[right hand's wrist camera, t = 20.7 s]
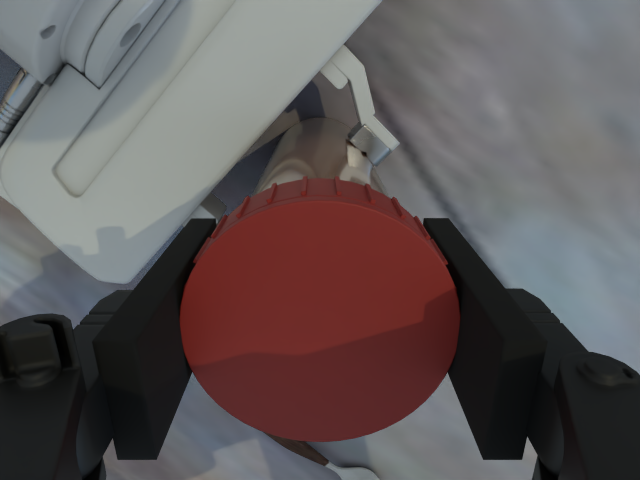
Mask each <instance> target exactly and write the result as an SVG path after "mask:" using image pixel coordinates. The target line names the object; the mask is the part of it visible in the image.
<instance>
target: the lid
mask: <svg viewBox="0 0 640 480" xmlns="http://www.w3.org/2000/svg"><path fill="white" fill-rule="evenodd" d="M211 237H212V238H209V237H208V238H207V240H206V242H205V243H204V245H203V246H202V248H201V250H200V251H199V253H198V254H197V256H196V257H195V259H194V261H193V262H194V263H196V265H195V267H194V268H193V270H192V272H191V273H190V276H189V278H188V280H187V282H186V284H185V286H184V289H183V290H184V292H183V296H182V300H181V305H180V329H181V337H182V344H183V349H184V353H185V356H186V358H187V361H188V363H189V366H190V368H191V370H192V372H193V373H194V375H195V377H196V379H197V381H198V382H199V383H200V385H201V386H202V387H203V389H204V390H205V391H206V392H207V394H208V395H209V396H210V397H211V398H212V399H213V400H214V401H215V402H216V403H217V404H218V405H219V406H221V407H222V408H223V409H224V410H226V411H227V412H228V413H229V414H231V415H232V416H234V417H235V418H237V419H239V420H240V421H242V422H243V423H245V424H247V425H249V426H252V427H254V428H256V429H258V430H260V431H263V432H266V433H269V434H272V435H275V436H279V437H283V438H287V439H292V440H300V441H309V442H330V441H341V440H347V439H353V438H358V437H361V436H365V435H368V434H372V433H374V432H377V431H379V430H382V429H384V428H387V427H389V426H391V425H392V424H394V423H396V422H398V421H400V420H402V419H403V418H405V417H406V416H408V415H409V414H410V413H412V412H413V411H415V410H416V409H417V408H418V407H419V406H420V405H422V404H423V403H424V402H425V401H426V400H427V399H428V398H429V397H430V396H431V394H432V393H433V392H434V391H435V390H436V389H437V387H438V386H439V385H440V383H441V382H442V380H443V379H444V377H445V376H446V374H447V372H448V370H449V368H450V366H451V364H452V362H453V359H454V356H455V353H456V348H457V341H458V334H459V326H460V317H461V314H460V306H459V299H458V295H457V288H456V286H455V285H454V282H453V280H452V278H451V276H450V274H449V271H448V269H447V267H446V266H445V265H447V264H448V263H447V261H446V259H445V257H444V256H443V254H442V253H441V251H440V250H439V248H438V246H437V245H436V243H435V242H434V240H433V239H430V238H431V237H430V236H429V234H428V233H427V231H426V229H425V228H424V226H423V225H422V223H421V221H420V220H419V218H418V217H417V216H415V217H414V218H413V217H412V215H411V214H410V213H409V212H408V211H406V210H405V209H404V208H403V207H402V206H400V204H399V202H398V200H397V199H396V198H395V197H393V198H392V199H391V198H389V197H387V196H386V195H384V194H382V193H380V192H378V191H376V190H374V189H372V188H371V187H370V184H367V183H366V184H365V186H364V185H360V184H357V183H354V182H350V181H344V180H340V179H339V177H338V176H335V179H327V178H312V179H308V177H307V176H303V179H300V180H295V181H291V182H286V183H282V184H279V185H277V183H273V184H272V186H271V188H268V189H266V190H264V191H262V192H260V193H258V194H256V195H254V196H252V197H251V198H250V197H249V196H247V197H245V199H244V201H243V202H242V204H241V205H239V206H238V207H237V208H236V209H235V210H234V211H233V212H232V213H231V214H230V215H228V216H227V215H226V214H225V215H224V216H223V217H222V219H221V220H220V222H219V224H218V225H217V227H216V229H215V230H214V232H213V233H212V235H211ZM429 239H430V240H429Z"/></svg>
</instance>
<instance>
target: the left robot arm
mask: <svg viewBox="0 0 640 480" xmlns="http://www.w3.org/2000/svg"><path fill="white" fill-rule="evenodd" d="M382 1H383V0H0V49H1V50H2V51H3V52H4V53H6V54H7V55H8V56H9V57H10V58H12V59H13V60H14V61H15V62H16V63H18V64H19V65H20V66H21V68H20V70H19V71H18V73H17V75H16V76H15V78H14V79H13V81H12V82H11V84H10V85H9V87H8V89H7V90H6V92H5V94H4V96H3V98H2V100H1V103H0V196H1V197H3V198H4V199H5V200H7V201H8V202H9V203H11V204H12V205H13V206H15V207H16V208H18V209H19V210H20V211H21V212H22V213H23V214H24V215H25V217H26V218H27V219H28V220H29V221H30V222H31V223H32V224H33V225H34V226H35V227H36V228H37V229H38V230H39V231H40V232H41V233H43V234H44V235H45V236H46V237H47V238H48V239H49V240H50V241H51V242H52V243H53V244H54V245H55V246H56V247H58V248H59V249H60V250H61V251H62V252H63V253H64V254H65V255H67V256H68V257H69V258H70V259H71V260H72V261H74V262H75V263H76V264H77V265H78V266H79V267H81V268H82V269H83V270H84V271H86V272H87V273H88V274H90V275H91V276H92V277H94V278H95V279H97V280H99V281H101V282H109V283H118V284H126V283H129V282H130V281H131V280H132V279H133V278H134V277H135V276H136V275H137V274H138V273H139V271H140V270H141V269H142V268H143V267H144V266H145V265H146V264H147V263H148V261H149V260H150V259H151V258H152V257H153V256H154V255H155V254H156V253H157V251H158V250H159V249H160V248H161V247H162V246H163V245H164V244H165V243H166V241H167V240H168V239H169V238H170V237H171V236H172V235H173V233H174V232H175V231H176V230H177V229H178V228H179V227H180V226H181V225H182V226H183V227H185V225H186V224H187V223H188V222H189V221H190V219H191V218H216V224H217V225H218V224H219V222H220V220H221V219H222V217H223V216H222V215H223V214H224V212H225V210H226V205H225V204H224V203H222V202H221V201H220V200H219V199H218V198H217V197H215V196H214V195H213V194H212V193H211V191H212V190H213V189H214V188H215V187H216V186H217V184H218V183H219V182H220V181H221V180H222V179H223V178H224V177H225V176H226V174H227V173H228V172H229V171H230V170H231V169H232V168H233V167H234V165H235V164H236V163H237V162H238V161H239V160H240V159H241V158H242V157H243V155H244V154H245V153H246V152H247V151H248V150H249V149H250V148H251V147H252V145H253V144H254V143H255V142H256V141H257V140H258V139H259V138H260V136H261V135H262V134H263V133H264V132H265V131H266V130H267V129H268V128H269V126H270V125H271V124H272V123H273V122H274V121H275V120H276V119H277V118H278V116H279V115H280V114H281V113H282V112H283V111H284V110H285V109H286V107H287V106H288V105H289V104H290V103H291V102H292V101H293V100H294V99H295V97H296V96H297V95H298V94H299V93H300V92H301V91H302V90H303V89H304V87H305V86H306V85H307V84H308V83H309V82H310V81H311V80H312V79H313V77H314V76H315V75H316V74H317V73H318V72H319V71H320V72H321V73H322V74H323V75H324V76H325V77H326V78H327V79H328V80H329V81H330V82H331V83H332V84H333V85H334V86H335V87H336V88H337V89H342V88H343V87H344V86H345V85H346V84H347V83H349V87H350V91H351V94H352V98H353V102H354V106H355V110H356V114H357V118H358V121H359V122H358V123H357V124H356V125H355V126H354V128H353V129H352V130H351V131H350V132H349V133H348V134H347V136H348V137H349V138H348V139H349V141H350V142H351V143H352V144H353V145H354V146H355V147H356V148H357V149H359V150H360V151H362V152H365V154H366V156H367V158H368V159H369V160H370V162H371V163H372V164H373V165H375V166H378V165H379V164H380V163H381V162H382V161H383V160H384V159H385V158H386V157H387V156H388V155H389V154H390V153H391V152H392V151H393V150H394V149H395V148H396V147H397V146H398V145H399V144H400V143H399V142H398V141H397V140H396V138H395V137H394V136H393V135H392V134H391V133H390V132H389V131H388V130H387V129H386V128H385V127H384V126H383V125H382V124H381V123H380V122H379V121H378V120H377V119H376V118H375V117H374V116H373V115H374V114H375V110H374V106H373V102H372V98H371V94H370V89H369V85H368V81H367V77H366V72H365V68H364V66H363V64H362V63H361V62H360V61H359V60H358V59H357V58H356V57H355V56H354V55H353V54H352V53H351V52H350V51H349V49H348V48H347V47H346V46H345V45H344V43H345V42H346V41H347V39H348V38H349V37H350V36H351V35H352V34H353V33H354V32H355V31H356V29H357V28H358V27H359V26H360V25H361V24H362V23H363V22H364V21H365V19H366V18H367V17H368V16H369V15H370V14H371V13H372V12H373V11H374V10H375V8H376V7H377V6H378V5H379V4H380V3H381V2H382Z"/></svg>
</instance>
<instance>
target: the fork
mask: <svg viewBox="0 0 640 480" xmlns="http://www.w3.org/2000/svg"><path fill="white" fill-rule="evenodd" d="M264 433H265V434H267V435H268V436H270V437H271V438H272V439H274V440H275V441H276V442H278V443H279V444H281V445H282V446H284V447H285V448H287V449H289V450H291V451H293V452H295V453H297V454H299V455H301V456H303V457H305V458H308V459H310V460H312V461H314V462H317V463H319V464H321V465H323V466H325V467H327V468H329V469H331V470H333V471H335V472H336V473H337V474H338V475H339V476H340V478H341V479H342V480H380V479H379V478H378V477H377V476H376V474H374V473H373V472H372V471H371V470H369V469H366V468H362V467H350V468H342V467H338V466H336V465H334V464H333V463H331V462H330V461H329V460H327V459H326V458H325V457H324V456H322V455H321V454H320V453H318V452H317V451H316V450H315V449H313V448H312V447H311V446H310V445H308V444H307V443H306V442H304V441H300V440H292V439H287V438H283V437H279V436H275V435H272V434H269V433H266V432H264Z"/></svg>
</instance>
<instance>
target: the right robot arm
mask: <svg viewBox="0 0 640 480" xmlns="http://www.w3.org/2000/svg"><path fill="white" fill-rule="evenodd" d="M423 226H424V228H425V229H426V231H427V233H428V234H429V236H430V237H431V238H430V239H433V240H434V242H435V243H436V245H437V246H438V248H439V250H440V251H441V253H442V254H443V256H444V257H445V259H446V261H447V263H448V264H447V265H445V266H446V267H447V269H448V271H449V274H450V276H451V278H452V280H453V282H454V285H455V286H456V288H457V295H458V299H459V306H460V314H461V317H460V326H459V334H458V341H457V348H456V353H455V356H454V359H453V362H452V364H451V366H450V368H449V370H448V375H449V377H450V379H451V382H452V384H453V387H454V389H455V392H456V394H457V397H458V399H459V402H460V404H461V406H462V409H463V411H464V414H465V416H466V419H467V421H468V424H469V426H470V429H471V431H472V433H473V436H474V438H475V441H476V443H477V446H478V448H479V451H480V453H481V456H482V458H483V460H522V457H523V453H524V448H525V444H526V439H527V436H528V438H529V440H530V442H531V444H532V446H533V447H534V449H535V451H536V453H537V455H538V456H537V460H536V464H535V469H534V473H533V477H532V480H640V375H639V374H638V373H637V372H636V371H635V370H633V369H632V368H631V367H629V366H628V365H626V364H625V363H623V362H621V361H618V360H616V359H614V358H612V357H609V356H606V355H602V354H598V353H594V352H588V351H587V350H586V348H585V347H584V346H583V345H582V344H581V343H580V342H579V341H578V340H577V339H576V338H575V336H574V335H573V334H572V333H571V332H570V331H569V330H568V329H567V328H566V327H565V326H564V325H563V323H560V320H559V319H558V318H557V317H556V316H555V315H554V314H553V313H551V310H550V309H549V308H548V307H547V306H546V305H545V304H544V303H543V302H542V301H541V299H539V298H538V297H536V296H534V295H532V294H531V293H529V292H527V291H525V290H524V289H505V288H504V287H503V285H502V284H501V283H500V282H499V280H498V279H497V278H496V277H495V275H494V274H493V273H492V272H491V270H490V269H489V268H488V267H487V265H486V264H485V263H484V262H483V261H482V259H481V258H480V257H479V256H478V254H477V253H476V252H475V251H474V249H473V248H472V247H471V246H470V244H469V243H468V242H467V241H466V239H465V238H464V237H463V236H462V235H461V233H460V232H459V231H458V230H457V228H456V227H455V226H454V225H453V223H452V222H451V221H450V220H449V218H424V221H423ZM216 227H217V224H216V218H191V219H190V221H189V222H188V223H187V224H186V225H185V227H184V228H183V229H182V230H181V232H180V233H179V234H178V235H177V237H176V238H175V239H174V240H173V242H172V243H171V244H170V245H169V247H168V248H167V249H166V250H165V251H164V253H163V254H162V255H161V256H160V258H159V259H158V260H157V261H156V263H155V264H154V265H153V266H152V268H151V269H150V270H149V271H148V272H147V274H146V275H145V276H144V277H143V279H142V280H141V281H140V282H139V284H138V285H137V286H136V287H135V289H134V290H117V291H115V292H114V293H112V294H110V295H108V296H107V297H105V298H103V299H102V300H100V301H99V302H98V303H97V304H96V305H95V306H94V308H93V309H92V310H91V311H90V312H89V315H86V316H85V317H84V319H83V320H82V321H81V322H80V325H77V326H76V327H75V328H74V330H73V328H72V324H71V320H70V319H68V318H67V317H65V316H64V315H58V314H37V315H32V316H28V317H24V318H20V319H17V320H14V321H12V322H9V323H6V324H4V325H2V326H1V327H0V480H106V470H105V464H104V460H103V455H104V453H105V451H106V449H107V447H108V446H109V444H110V442H111V440H112V438H113V441H114V445H115V450H116V454H117V459H118V460H157V457H158V455H159V452H160V450H161V447H162V445H163V443H164V440H165V438H166V435H167V433H168V430H169V428H170V425H171V423H172V420H173V418H174V416H175V413H176V411H177V408H178V406H179V403H180V401H181V398H182V396H183V393H184V391H185V389H186V386H187V384H188V381H189V379H190V376H191V374H192V370H191V368H190V366H189V363H188V361H187V358H186V356H185V353H184V349H183V344H182V337H181V329H180V305H181V300H182V296H183V292H184V290H183V289H184V286H185V284H186V282H187V280H188V278H189V276H190V273H191V272H192V270H193V268H194V267H195V265H196V263H194V262H193V261H194V259H195V257H196V256H197V254H198V253H199V251H200V250H201V248H202V246H203V245H204V243H205V242H206V240H207V238H208V237H209V238H212V237H211V235H212V233H213V232H214V230H215V229H216ZM430 239H429V240H430Z"/></svg>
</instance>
